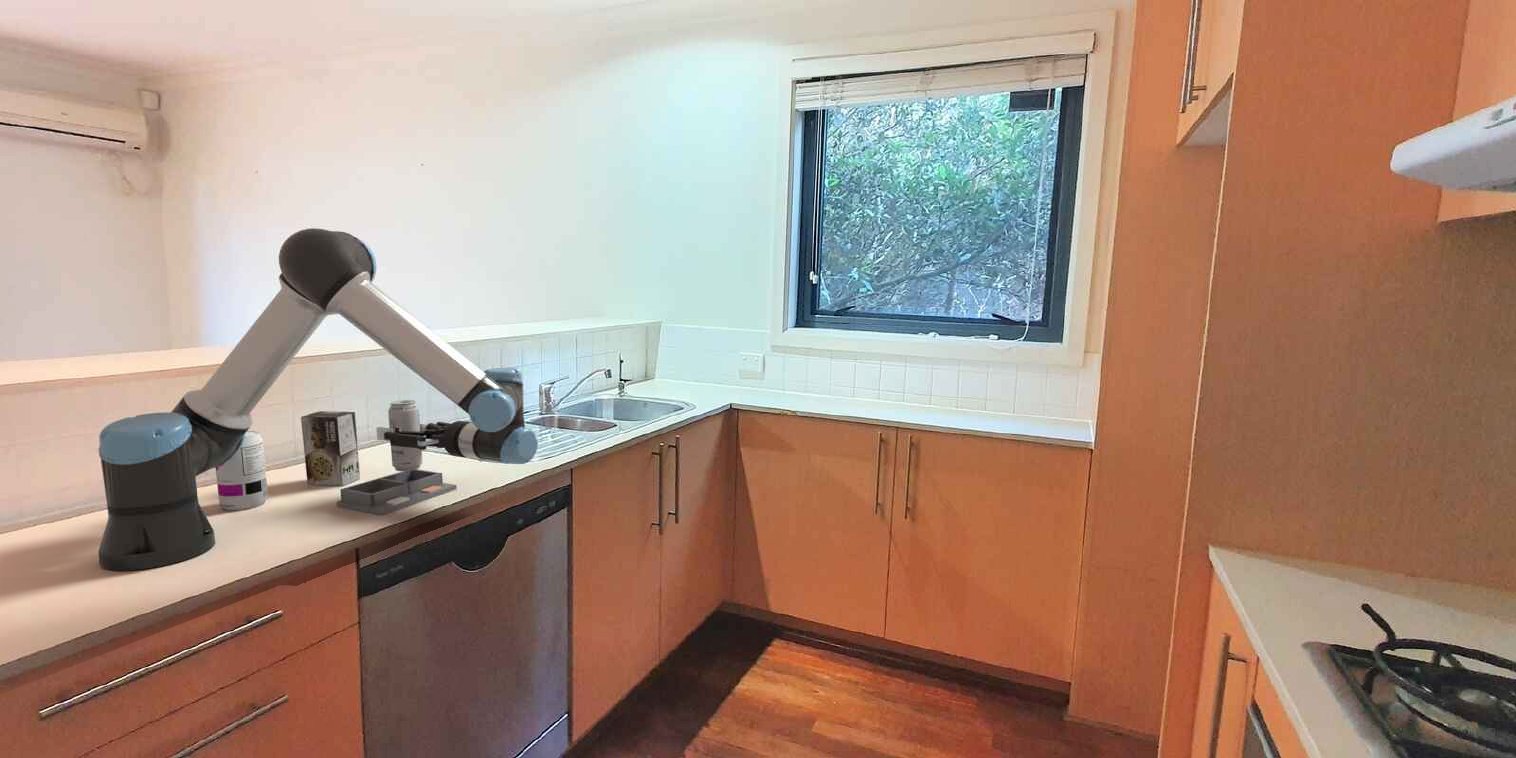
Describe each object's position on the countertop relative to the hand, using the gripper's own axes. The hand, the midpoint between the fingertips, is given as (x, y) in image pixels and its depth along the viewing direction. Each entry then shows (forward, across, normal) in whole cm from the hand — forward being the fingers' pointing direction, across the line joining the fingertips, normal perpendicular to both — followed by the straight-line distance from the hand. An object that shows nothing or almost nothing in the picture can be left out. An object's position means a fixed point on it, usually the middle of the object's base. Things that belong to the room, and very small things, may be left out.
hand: (391, 430), depth 156 cm
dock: (-6, -4, -13) cm, 16 cm away
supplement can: (+18, -22, -13) cm, 31 cm away
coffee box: (+17, -2, -14) cm, 22 cm away
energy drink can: (-4, 0, -8) cm, 9 cm away
